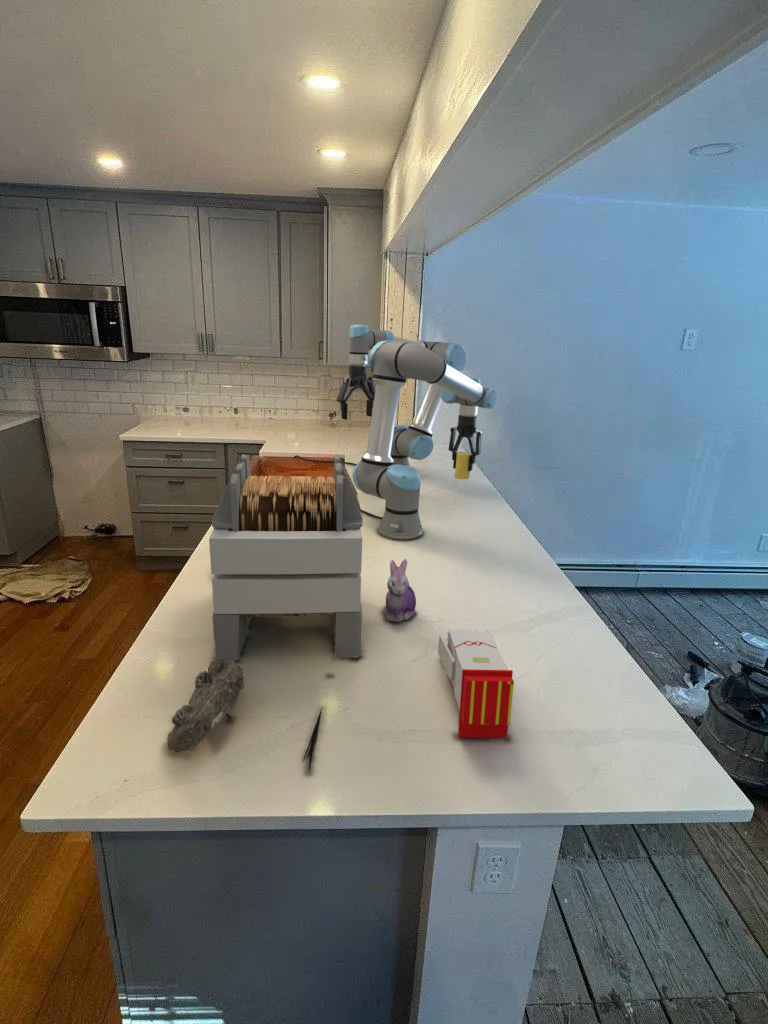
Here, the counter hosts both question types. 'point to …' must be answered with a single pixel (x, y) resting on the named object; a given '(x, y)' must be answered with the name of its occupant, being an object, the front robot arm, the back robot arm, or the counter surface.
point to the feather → (313, 740)
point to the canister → (462, 465)
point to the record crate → (286, 555)
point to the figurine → (399, 594)
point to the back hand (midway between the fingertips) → (356, 417)
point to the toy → (478, 682)
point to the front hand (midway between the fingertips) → (462, 468)
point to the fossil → (206, 705)
